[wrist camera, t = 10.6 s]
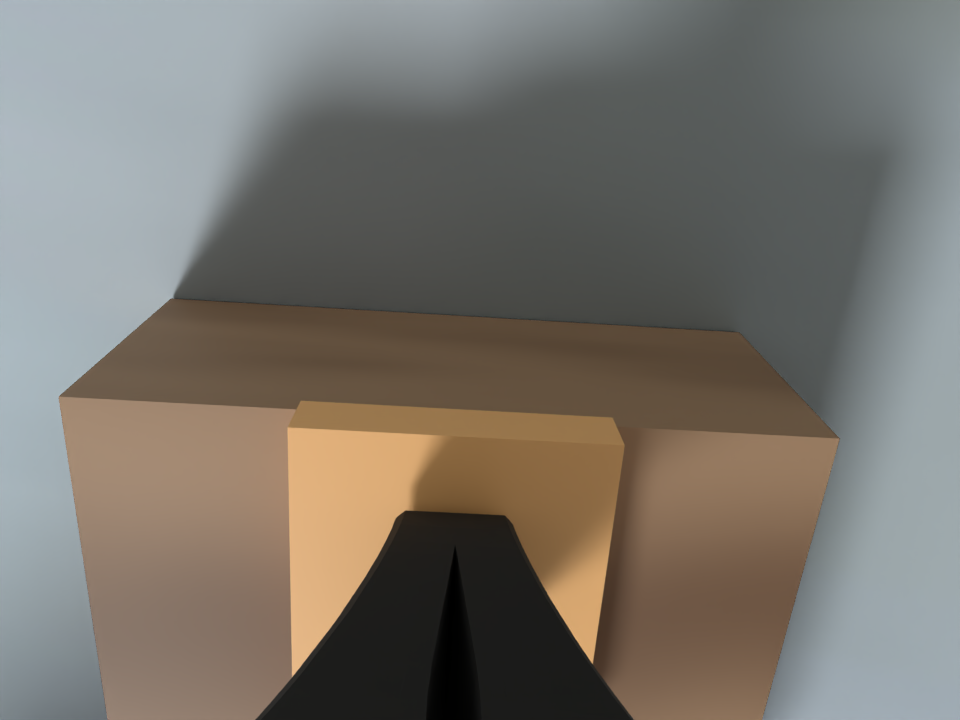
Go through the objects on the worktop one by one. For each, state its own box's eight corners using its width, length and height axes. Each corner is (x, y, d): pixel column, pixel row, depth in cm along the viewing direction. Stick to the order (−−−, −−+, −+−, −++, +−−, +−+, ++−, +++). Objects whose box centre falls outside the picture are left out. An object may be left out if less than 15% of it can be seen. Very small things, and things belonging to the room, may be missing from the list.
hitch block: (634, 835, 19) (676, 1030, 15) (216, 822, 18) (153, 1020, 15) (739, 332, 14) (839, 438, 10) (171, 298, 13) (59, 395, 10)
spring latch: (569, 728, 12) (576, 773, 11) (304, 719, 12) (294, 764, 11) (612, 417, 10) (624, 445, 9) (301, 400, 10) (287, 427, 9)
